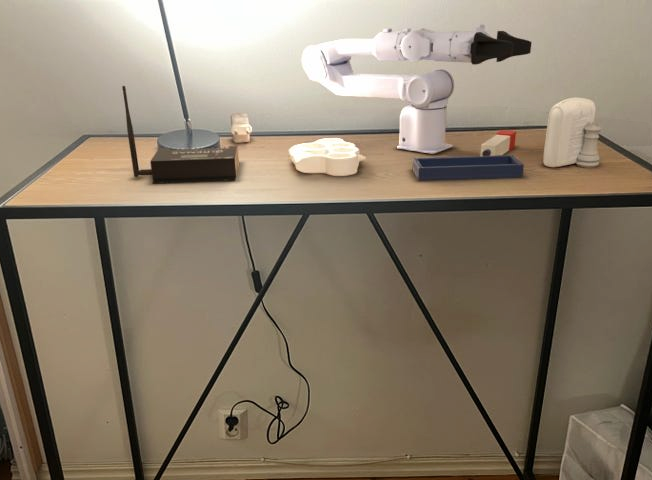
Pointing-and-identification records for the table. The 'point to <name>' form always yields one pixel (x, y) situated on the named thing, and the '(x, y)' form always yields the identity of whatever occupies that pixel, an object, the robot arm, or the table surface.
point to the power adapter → (240, 127)
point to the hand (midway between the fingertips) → (521, 48)
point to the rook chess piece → (590, 146)
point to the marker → (499, 143)
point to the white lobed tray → (327, 157)
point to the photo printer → (567, 130)
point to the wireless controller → (185, 161)
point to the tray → (467, 167)
